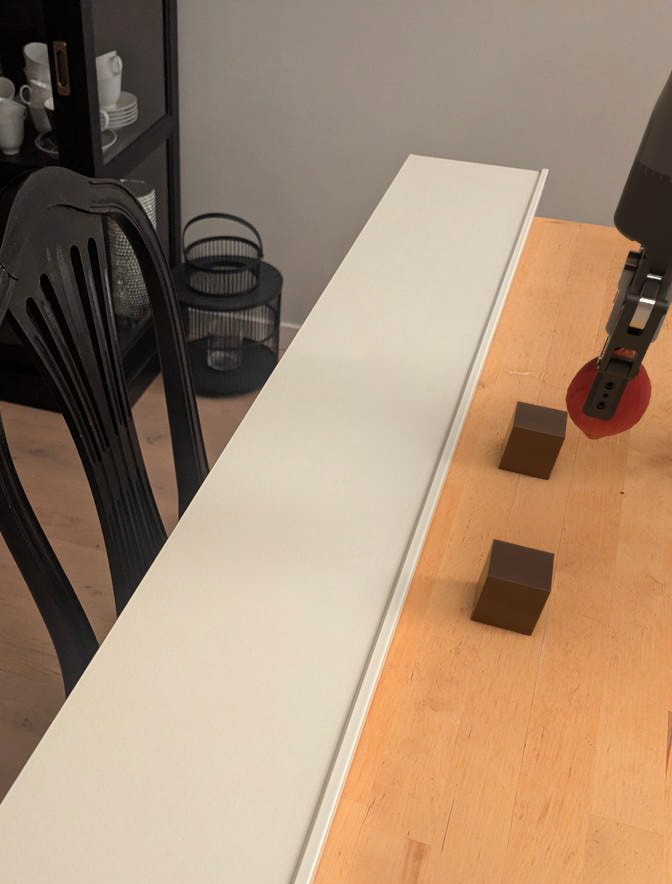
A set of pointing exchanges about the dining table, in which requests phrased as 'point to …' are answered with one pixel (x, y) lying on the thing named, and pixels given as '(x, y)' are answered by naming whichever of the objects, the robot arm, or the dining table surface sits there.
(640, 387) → the onion
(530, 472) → the walnut block far
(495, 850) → the dining table surface
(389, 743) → the dining table surface
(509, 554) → the walnut block near
